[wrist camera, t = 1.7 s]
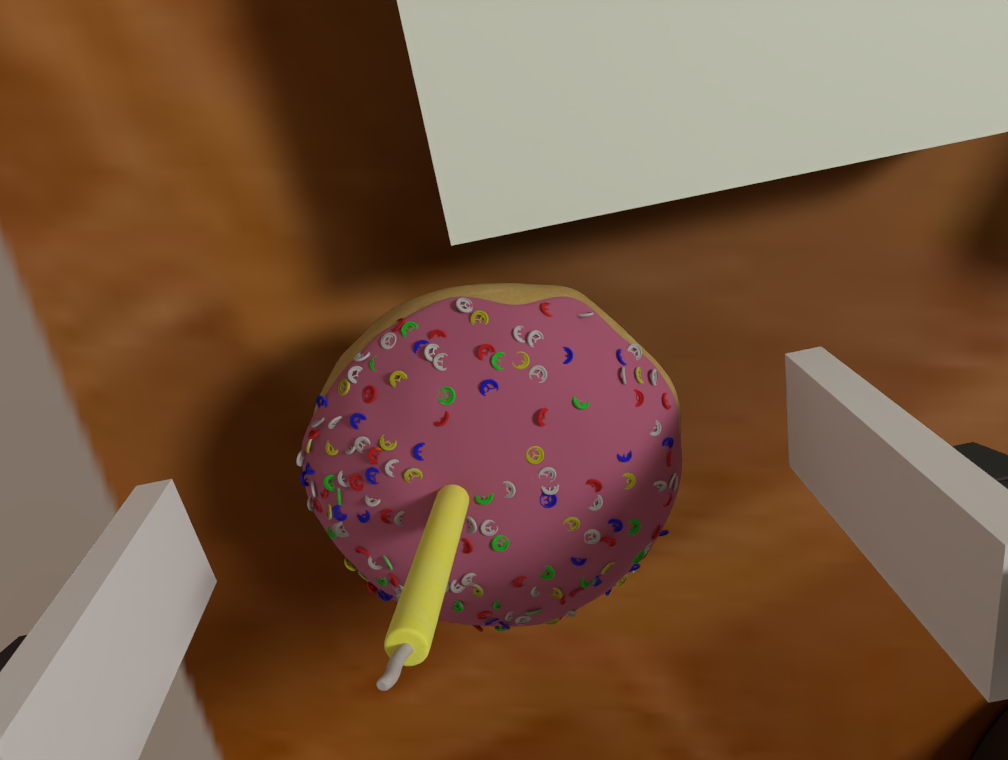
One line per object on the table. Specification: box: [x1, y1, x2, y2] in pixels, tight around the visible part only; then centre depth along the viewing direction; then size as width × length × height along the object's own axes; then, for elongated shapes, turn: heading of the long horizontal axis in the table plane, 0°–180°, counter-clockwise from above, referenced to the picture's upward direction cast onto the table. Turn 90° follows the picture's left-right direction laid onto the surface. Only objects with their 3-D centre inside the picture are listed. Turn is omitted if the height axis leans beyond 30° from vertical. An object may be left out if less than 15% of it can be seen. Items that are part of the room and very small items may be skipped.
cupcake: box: [296, 283, 682, 691], centre depth 15 cm, size 9×8×12 cm
